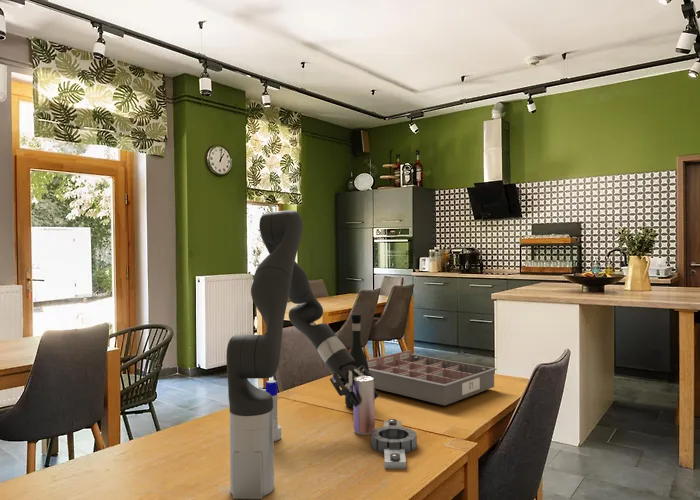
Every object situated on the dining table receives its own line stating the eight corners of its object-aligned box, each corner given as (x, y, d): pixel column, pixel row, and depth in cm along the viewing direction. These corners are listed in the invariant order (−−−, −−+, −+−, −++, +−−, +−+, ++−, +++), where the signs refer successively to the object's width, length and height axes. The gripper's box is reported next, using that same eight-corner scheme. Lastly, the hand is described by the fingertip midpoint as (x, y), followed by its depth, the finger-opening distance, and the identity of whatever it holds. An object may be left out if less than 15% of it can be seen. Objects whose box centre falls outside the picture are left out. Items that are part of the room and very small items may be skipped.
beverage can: (350, 433, 146) (349, 379, 146) (359, 426, 151) (359, 375, 151) (369, 436, 143) (368, 382, 143) (378, 429, 148) (377, 377, 148)
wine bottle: (360, 400, 177) (359, 312, 176) (374, 406, 170) (373, 314, 170) (340, 404, 172) (339, 314, 172) (353, 411, 166) (352, 316, 165)
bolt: (284, 439, 142) (267, 443, 139) (276, 434, 146) (259, 437, 143) (283, 381, 142) (266, 384, 139) (276, 378, 146) (259, 380, 143)
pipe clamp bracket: (420, 469, 122) (420, 456, 122) (370, 468, 122) (369, 455, 122) (412, 426, 151) (412, 416, 151) (372, 426, 151) (371, 415, 151)
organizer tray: (445, 411, 165) (445, 379, 165) (355, 388, 194) (355, 361, 194) (497, 390, 188) (497, 363, 188) (410, 372, 216) (409, 348, 216)
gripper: (326, 351, 146) (359, 399, 139) (357, 343, 157) (389, 387, 150) (312, 368, 149) (344, 415, 142) (343, 359, 160) (374, 403, 153)
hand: (367, 401), depth 146 cm, fingers open, 8 cm apart
